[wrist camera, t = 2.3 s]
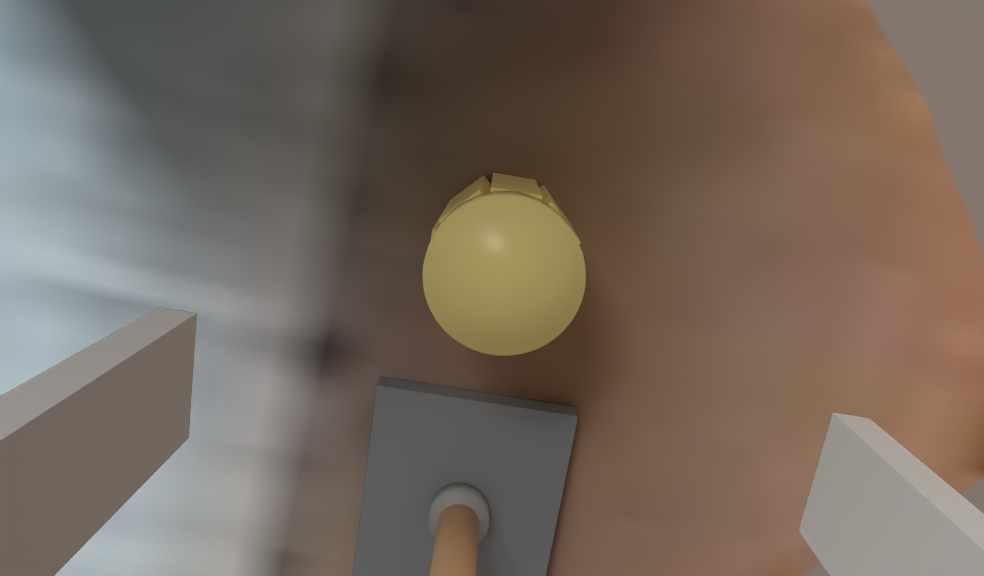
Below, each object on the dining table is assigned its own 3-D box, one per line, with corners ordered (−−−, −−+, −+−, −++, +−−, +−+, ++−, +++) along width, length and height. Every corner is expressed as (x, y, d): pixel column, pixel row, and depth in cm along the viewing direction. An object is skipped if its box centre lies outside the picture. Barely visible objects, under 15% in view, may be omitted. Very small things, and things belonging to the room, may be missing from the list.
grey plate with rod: (381, 376, 37) (336, 473, 27) (575, 406, 37) (601, 513, 27) (354, 581, 40) (306, 734, 30) (535, 607, 40) (545, 768, 30)
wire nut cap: (451, 165, 34) (434, 184, 26) (576, 186, 34) (600, 210, 26) (433, 288, 36) (412, 342, 27) (554, 307, 36) (569, 366, 27)
